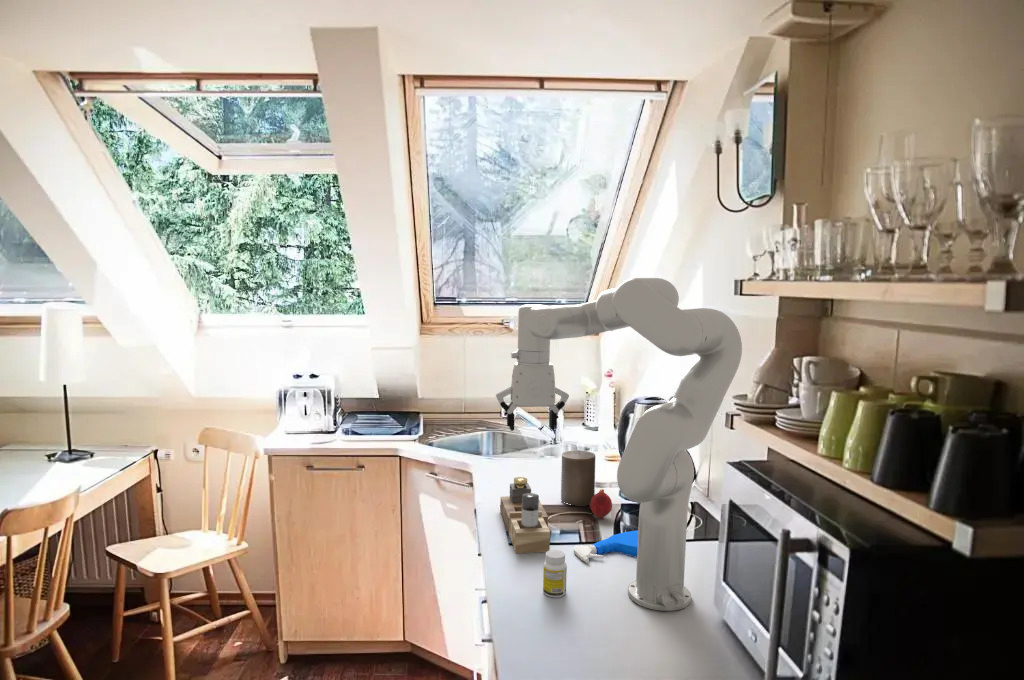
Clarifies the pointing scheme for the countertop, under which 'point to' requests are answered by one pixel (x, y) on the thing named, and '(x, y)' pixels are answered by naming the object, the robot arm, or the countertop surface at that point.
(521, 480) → the round brass peg
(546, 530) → the frame
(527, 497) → the capped metal cylinder
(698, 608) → the countertop surface
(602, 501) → the onion
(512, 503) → the socket block
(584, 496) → the pillar candle
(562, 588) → the supplement bottle
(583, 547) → the spray bottle
